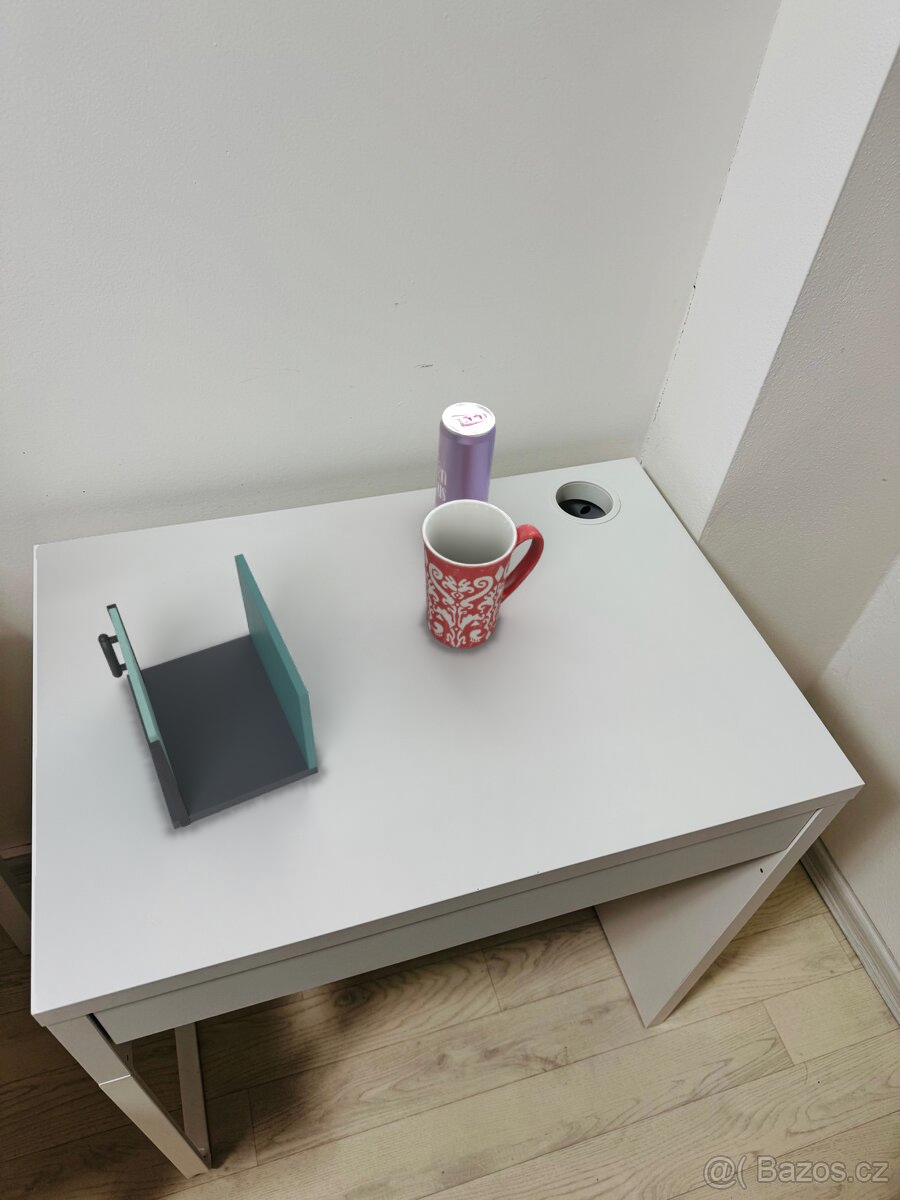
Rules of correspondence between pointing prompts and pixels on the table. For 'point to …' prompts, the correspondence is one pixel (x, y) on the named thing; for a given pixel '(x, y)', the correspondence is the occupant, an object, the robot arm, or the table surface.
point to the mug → (472, 568)
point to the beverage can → (465, 453)
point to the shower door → (130, 672)
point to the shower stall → (230, 718)
